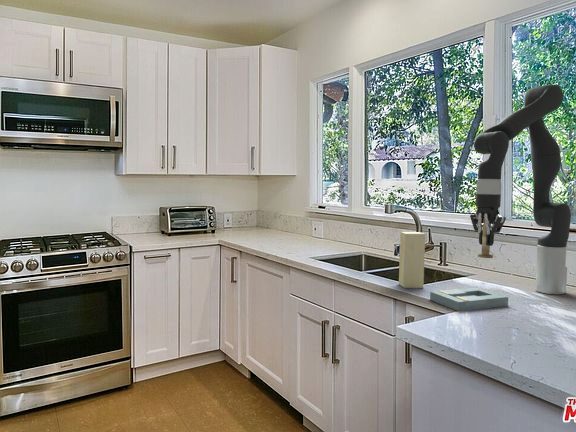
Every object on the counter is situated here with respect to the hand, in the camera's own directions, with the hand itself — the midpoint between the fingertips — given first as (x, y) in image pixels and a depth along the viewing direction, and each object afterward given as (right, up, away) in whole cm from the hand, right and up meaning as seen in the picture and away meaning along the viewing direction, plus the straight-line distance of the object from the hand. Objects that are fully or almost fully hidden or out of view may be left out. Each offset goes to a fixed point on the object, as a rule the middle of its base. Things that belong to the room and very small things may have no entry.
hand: (485, 244), depth 146 cm
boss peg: (0, -4, 0) cm, 4 cm away
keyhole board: (-5, -20, +1) cm, 20 cm away
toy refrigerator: (-18, -18, +26) cm, 36 cm away
